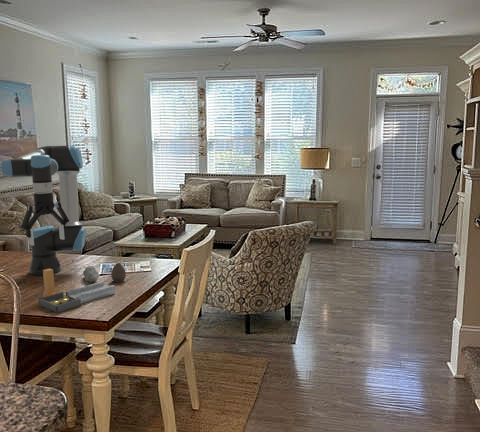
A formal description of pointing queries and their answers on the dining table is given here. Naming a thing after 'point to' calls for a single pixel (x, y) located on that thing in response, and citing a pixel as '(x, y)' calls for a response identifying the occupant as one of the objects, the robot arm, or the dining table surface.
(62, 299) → the gold domed disc
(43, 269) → the robot arm
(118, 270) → the vase
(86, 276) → the mineral specimen
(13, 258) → the dining table surface
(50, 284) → the orange l-shaped bar
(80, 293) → the slot rail
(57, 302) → the gold domed disc
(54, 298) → the tray
